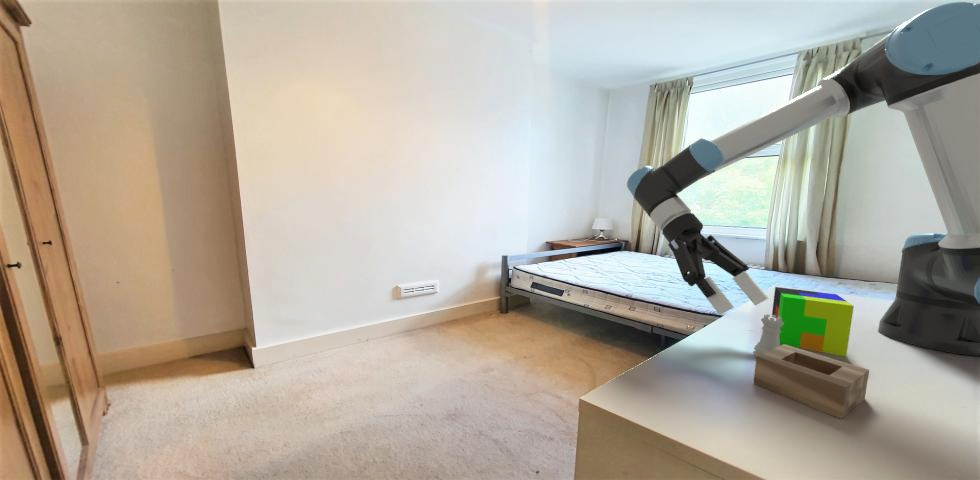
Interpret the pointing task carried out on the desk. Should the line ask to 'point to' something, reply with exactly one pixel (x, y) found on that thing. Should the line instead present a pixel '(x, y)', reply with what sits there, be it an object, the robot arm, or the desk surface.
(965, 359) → the desk surface
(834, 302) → the puzzle toy
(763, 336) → the rook chess piece
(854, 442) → the desk surface
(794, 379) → the socket block
